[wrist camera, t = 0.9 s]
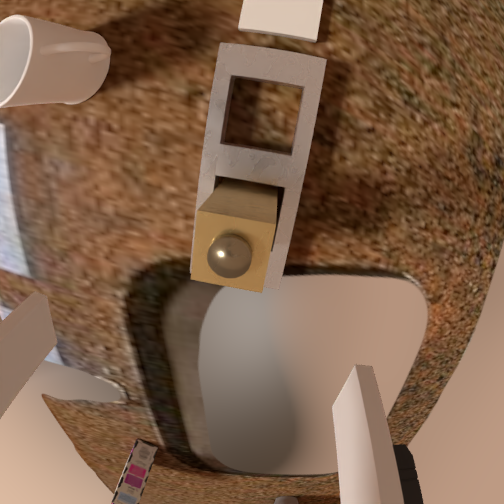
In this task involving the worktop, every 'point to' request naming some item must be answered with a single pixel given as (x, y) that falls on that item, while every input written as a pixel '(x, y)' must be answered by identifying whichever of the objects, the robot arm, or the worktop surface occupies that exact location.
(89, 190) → the worktop surface
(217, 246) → the brass block
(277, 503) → the mug
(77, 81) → the mug
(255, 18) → the pad
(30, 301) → the robot arm
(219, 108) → the rail plate
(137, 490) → the candy bar box
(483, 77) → the worktop surface
